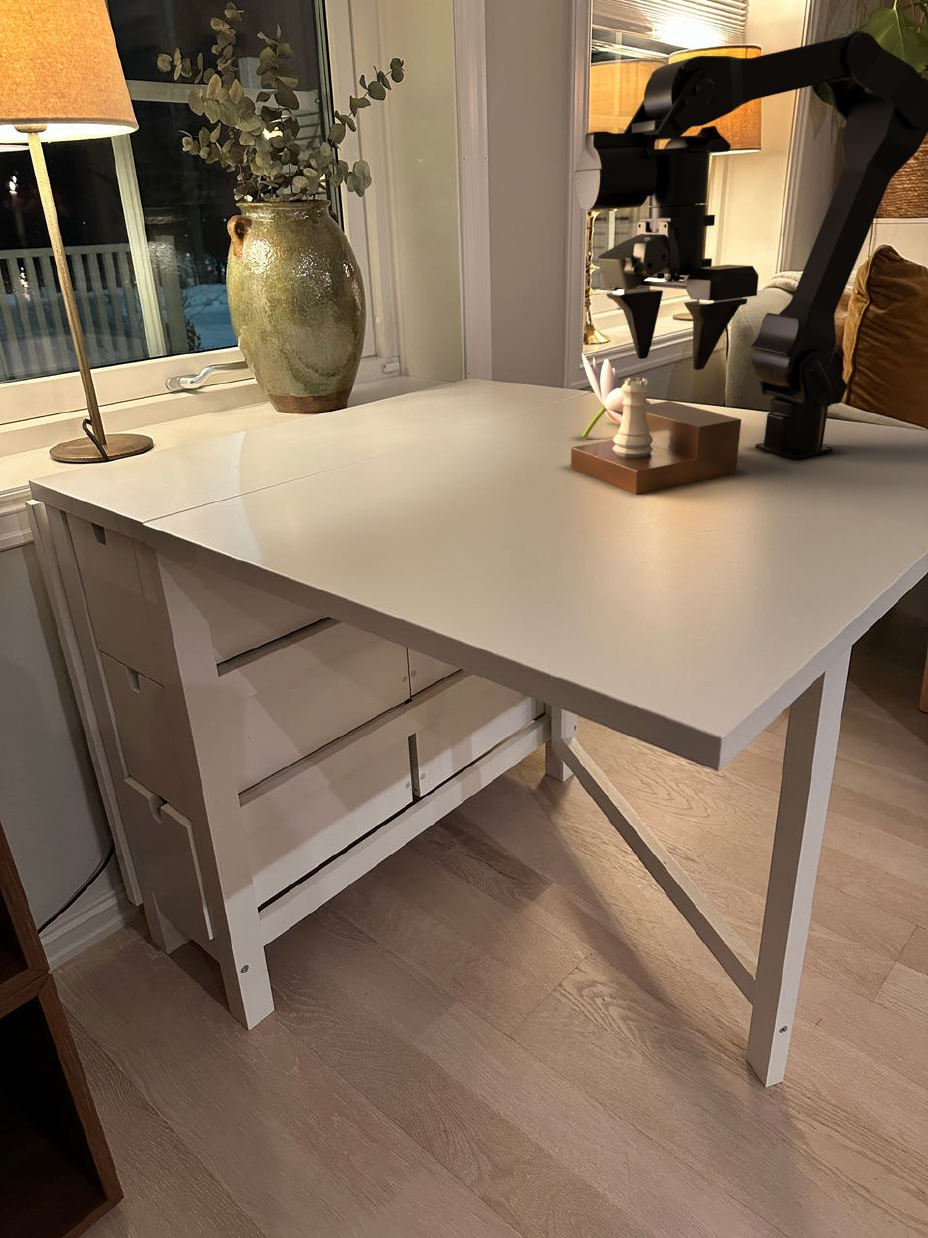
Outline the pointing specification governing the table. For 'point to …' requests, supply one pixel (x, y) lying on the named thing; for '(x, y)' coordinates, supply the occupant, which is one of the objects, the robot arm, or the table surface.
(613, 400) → the water lily
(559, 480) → the table surface
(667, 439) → the step shelf
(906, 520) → the table surface
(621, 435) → the rook chess piece
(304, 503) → the table surface
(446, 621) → the table surface
